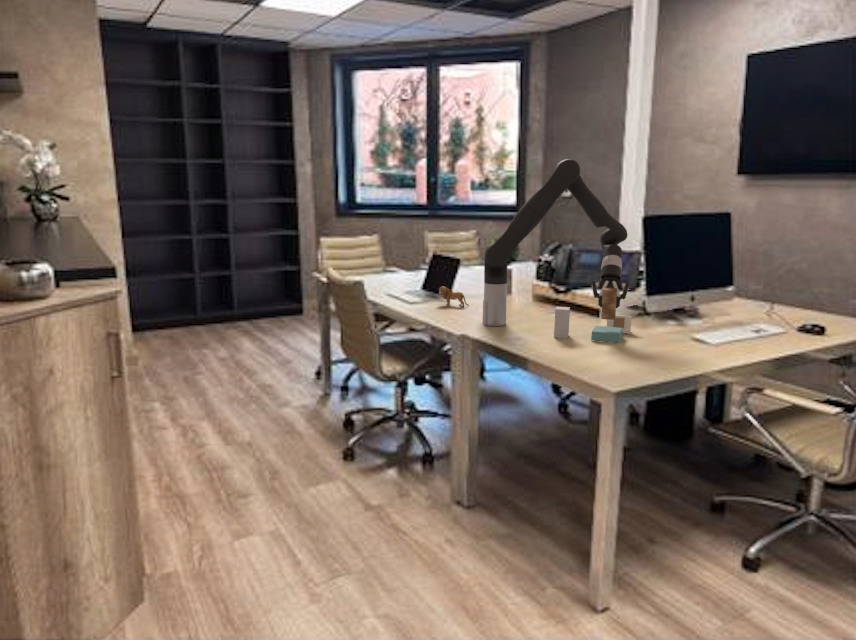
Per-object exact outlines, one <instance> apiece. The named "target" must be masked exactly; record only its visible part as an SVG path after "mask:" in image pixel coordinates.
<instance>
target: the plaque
mask: <svg viewBox="0 0 856 640" xmlns="http://www.w3.org/2000/svg"><path fill="white" fill-rule="evenodd" d="M631 326H632V315H624V314H623V315H621V314H615V320H610V319H606V327H618V328H623V331H622V334H625V333H627V335H631V329H632V328H631Z"/></svg>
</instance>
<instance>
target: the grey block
mask: <svg viewBox="0 0 856 640" xmlns="http://www.w3.org/2000/svg"><path fill="white" fill-rule="evenodd" d="M570 311H571V307H570V306H569V307H568V306H556V307H555V309H554V329H553V338H554V337H558V338H559V339H569V333H570V332H569V331H570V315H571V314H570V313H571V312H570ZM558 338H557V339H558Z"/></svg>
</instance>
